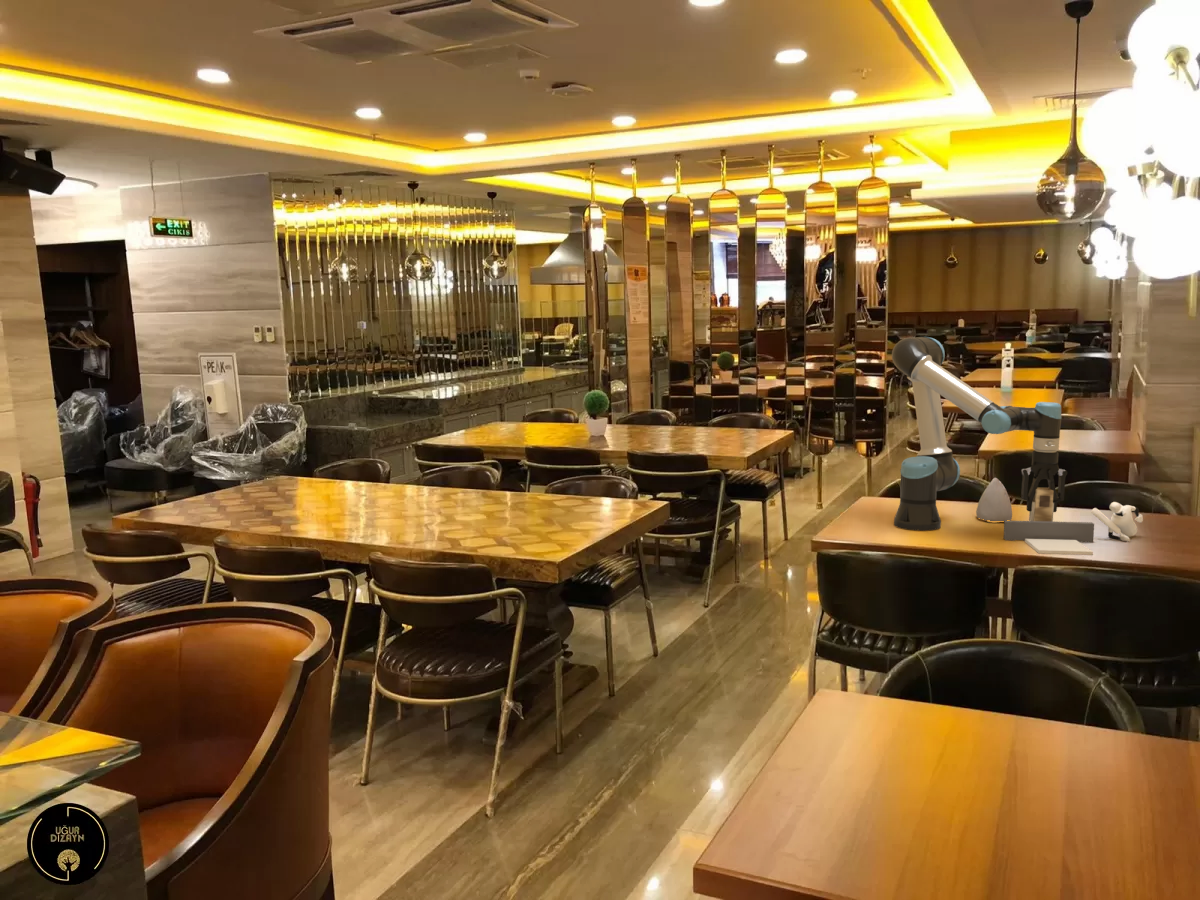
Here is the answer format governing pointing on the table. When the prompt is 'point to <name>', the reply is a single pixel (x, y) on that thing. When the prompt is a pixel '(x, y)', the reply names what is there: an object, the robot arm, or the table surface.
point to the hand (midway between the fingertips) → (1040, 521)
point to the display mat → (1058, 546)
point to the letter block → (1043, 504)
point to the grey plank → (1049, 530)
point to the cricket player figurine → (1120, 520)
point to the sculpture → (994, 503)
